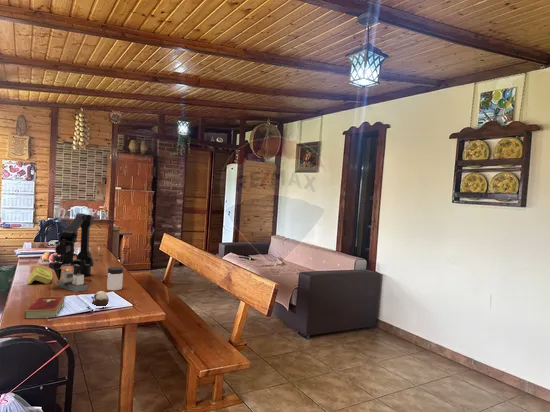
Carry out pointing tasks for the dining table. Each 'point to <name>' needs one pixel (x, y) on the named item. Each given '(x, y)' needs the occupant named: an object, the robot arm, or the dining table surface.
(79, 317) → the dining table surface
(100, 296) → the skull
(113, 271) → the jar
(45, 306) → the hardcover book
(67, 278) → the beige rectangular block
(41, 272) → the plastic component
